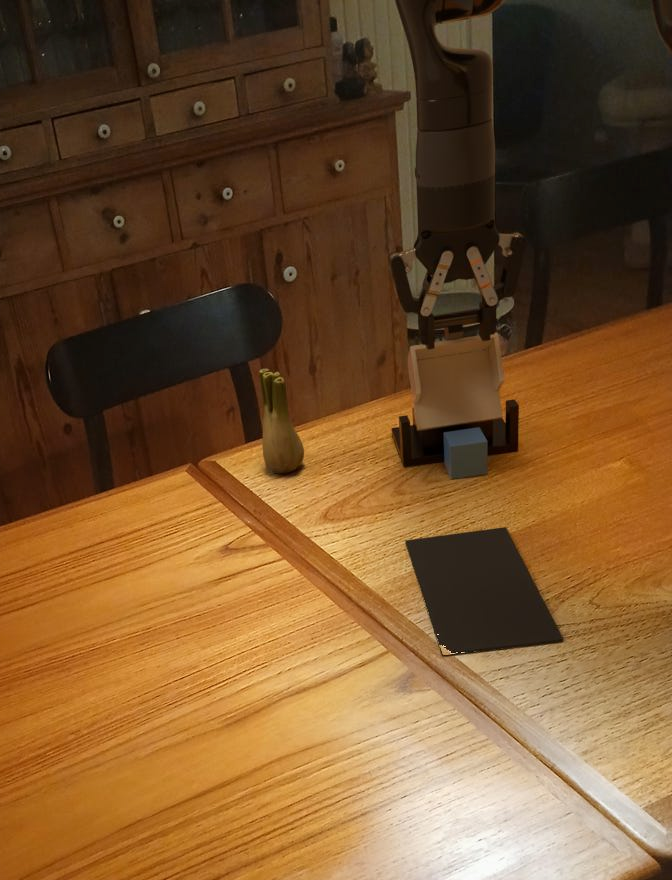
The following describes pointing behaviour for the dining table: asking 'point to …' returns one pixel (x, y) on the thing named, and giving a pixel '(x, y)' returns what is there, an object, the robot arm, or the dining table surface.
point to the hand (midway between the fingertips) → (457, 342)
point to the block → (465, 453)
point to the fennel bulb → (278, 426)
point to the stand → (431, 442)
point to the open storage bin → (456, 375)
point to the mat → (480, 592)
